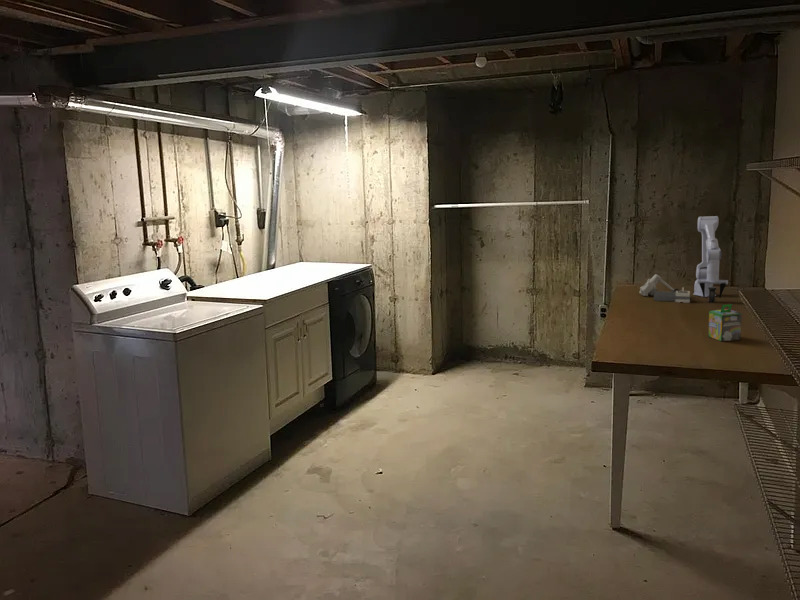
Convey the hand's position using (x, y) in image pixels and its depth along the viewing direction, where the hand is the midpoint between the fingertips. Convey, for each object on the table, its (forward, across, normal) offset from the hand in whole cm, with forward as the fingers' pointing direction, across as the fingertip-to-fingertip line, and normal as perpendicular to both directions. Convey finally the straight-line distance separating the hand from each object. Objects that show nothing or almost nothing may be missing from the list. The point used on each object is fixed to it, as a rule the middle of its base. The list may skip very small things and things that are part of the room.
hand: (711, 297), depth 339 cm
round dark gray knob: (+3, 0, 0) cm, 3 cm away
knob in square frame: (+3, -20, +5) cm, 21 cm away
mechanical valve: (+3, -26, +15) cm, 31 cm away
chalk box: (+3, +2, -79) cm, 79 cm away
